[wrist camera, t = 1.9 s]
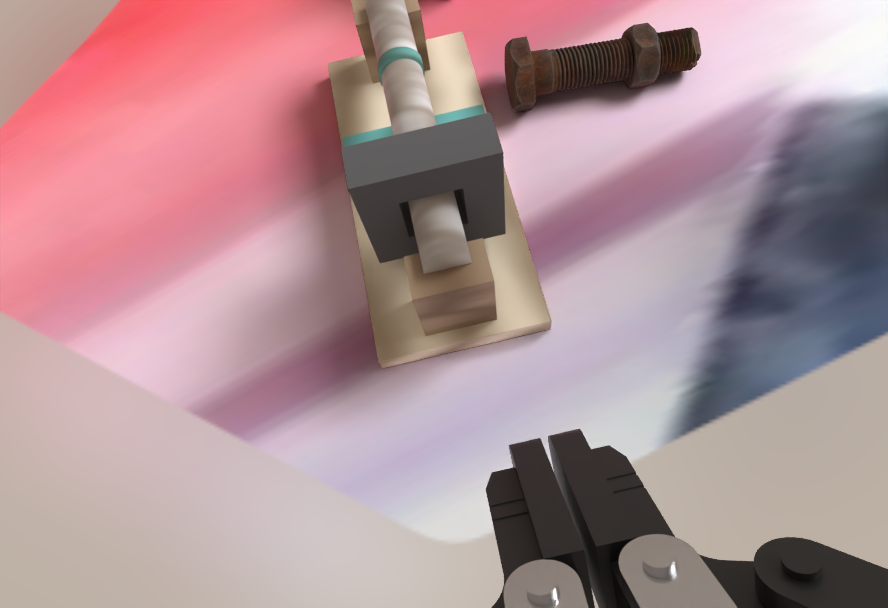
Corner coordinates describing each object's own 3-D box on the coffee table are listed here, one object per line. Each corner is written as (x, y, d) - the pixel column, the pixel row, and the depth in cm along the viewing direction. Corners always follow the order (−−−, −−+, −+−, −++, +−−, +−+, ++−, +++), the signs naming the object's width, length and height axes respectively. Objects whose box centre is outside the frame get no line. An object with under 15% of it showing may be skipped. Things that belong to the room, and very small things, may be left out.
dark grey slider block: (495, 198, 44) (490, 112, 36) (505, 234, 43) (503, 152, 34) (373, 227, 44) (340, 147, 36) (379, 263, 43) (347, 189, 35)
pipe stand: (463, 44, 54) (453, -52, 46) (550, 329, 43) (558, 268, 34) (332, 76, 54) (299, -14, 46) (382, 368, 43) (350, 317, 34)
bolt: (684, 89, 52) (510, 117, 52) (676, 29, 52) (501, 57, 52) (714, 69, 46) (519, 100, 47) (706, 1, 46) (509, 33, 46)
